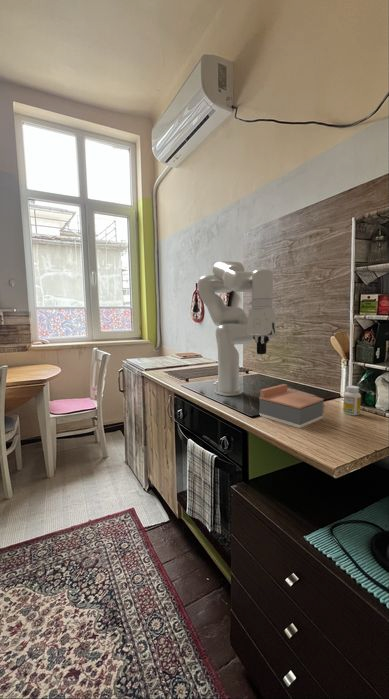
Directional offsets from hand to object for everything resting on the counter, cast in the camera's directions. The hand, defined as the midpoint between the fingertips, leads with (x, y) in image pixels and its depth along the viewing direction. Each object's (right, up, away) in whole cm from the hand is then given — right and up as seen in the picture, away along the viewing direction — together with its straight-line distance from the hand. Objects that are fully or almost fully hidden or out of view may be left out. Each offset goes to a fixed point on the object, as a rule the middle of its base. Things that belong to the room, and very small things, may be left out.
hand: (261, 353), depth 116 cm
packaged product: (+17, -21, +11) cm, 29 cm away
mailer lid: (+8, -16, -8) cm, 20 cm away
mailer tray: (+8, -22, -8) cm, 25 cm away
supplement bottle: (+32, -22, -4) cm, 38 cm away
